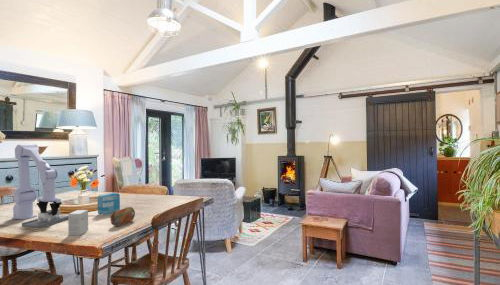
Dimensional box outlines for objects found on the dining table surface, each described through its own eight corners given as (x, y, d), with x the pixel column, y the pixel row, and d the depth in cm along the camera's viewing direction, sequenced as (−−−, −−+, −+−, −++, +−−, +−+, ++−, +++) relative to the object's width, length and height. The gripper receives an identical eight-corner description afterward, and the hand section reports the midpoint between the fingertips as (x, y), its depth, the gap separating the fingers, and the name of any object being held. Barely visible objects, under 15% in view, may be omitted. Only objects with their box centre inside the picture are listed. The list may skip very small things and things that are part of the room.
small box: (77, 230, 138) (76, 209, 138) (88, 230, 139) (88, 209, 139) (67, 235, 130) (67, 214, 130) (80, 235, 131) (79, 213, 131)
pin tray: (21, 226, 146) (21, 220, 146) (56, 216, 166) (56, 211, 166) (40, 228, 143) (40, 222, 143) (73, 217, 162) (73, 212, 162)
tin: (114, 228, 142) (113, 212, 142) (109, 227, 143) (109, 211, 143) (135, 220, 156) (135, 205, 156) (131, 219, 157) (130, 205, 157)
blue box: (101, 215, 167) (101, 196, 167) (97, 214, 169) (97, 195, 169) (120, 211, 177) (119, 193, 177) (116, 210, 179) (116, 192, 179)
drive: (38, 222, 150) (38, 212, 150) (53, 217, 159) (53, 209, 159) (44, 222, 149) (44, 213, 149) (59, 218, 158) (59, 209, 158)
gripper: (31, 191, 152) (32, 215, 152) (52, 192, 149) (52, 217, 149) (44, 189, 159) (44, 212, 159) (64, 190, 155) (64, 214, 155)
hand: (49, 214), depth 154 cm, fingers open, 7 cm apart
